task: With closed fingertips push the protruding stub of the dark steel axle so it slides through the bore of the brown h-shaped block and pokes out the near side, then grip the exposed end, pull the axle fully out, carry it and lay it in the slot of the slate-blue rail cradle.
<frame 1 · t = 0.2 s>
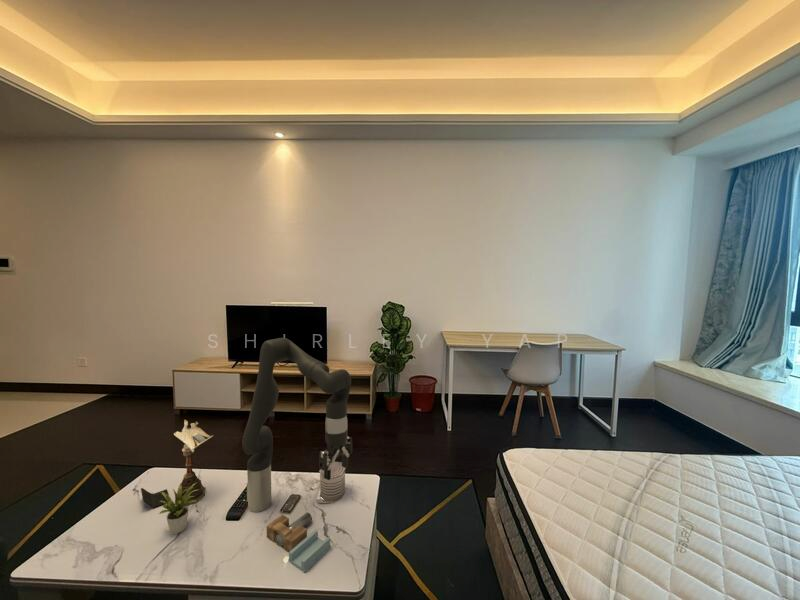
hand: (336, 472, 114), 28 cm above the table, fingers open, 8 cm apart
dark v-shaped block: (156, 502, 142), on the table
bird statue: (196, 497, 144), on the table
cradle: (310, 554, 114), on the table
can: (332, 494, 147), on the table
axle: (294, 528, 124), point 2 cm above the table
house plant: (180, 530, 125), on the table
brown h-shaped block: (286, 539, 121), on the table
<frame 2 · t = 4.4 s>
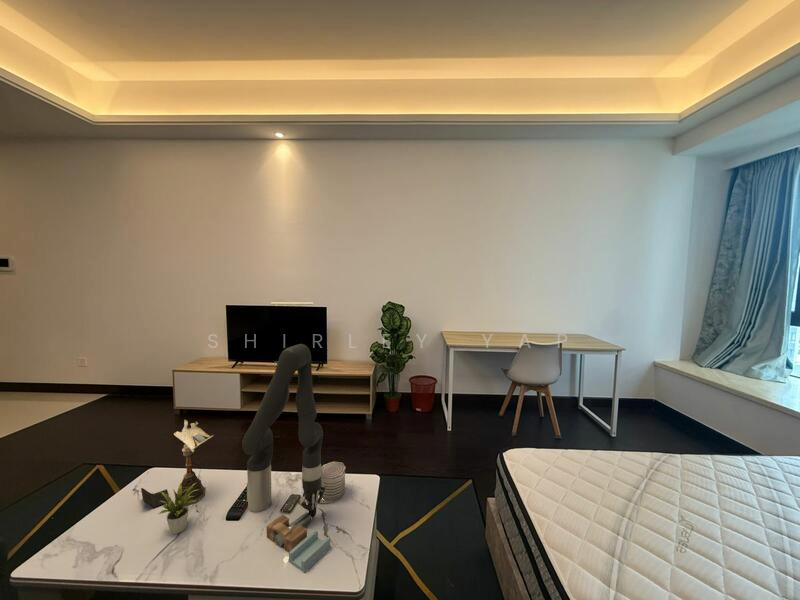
hand: (312, 516, 131), 1 cm above the table, fingers closed
axle: (293, 528, 124), point 2 cm above the table, tilted 5°, touching gripper
everything else where it was.
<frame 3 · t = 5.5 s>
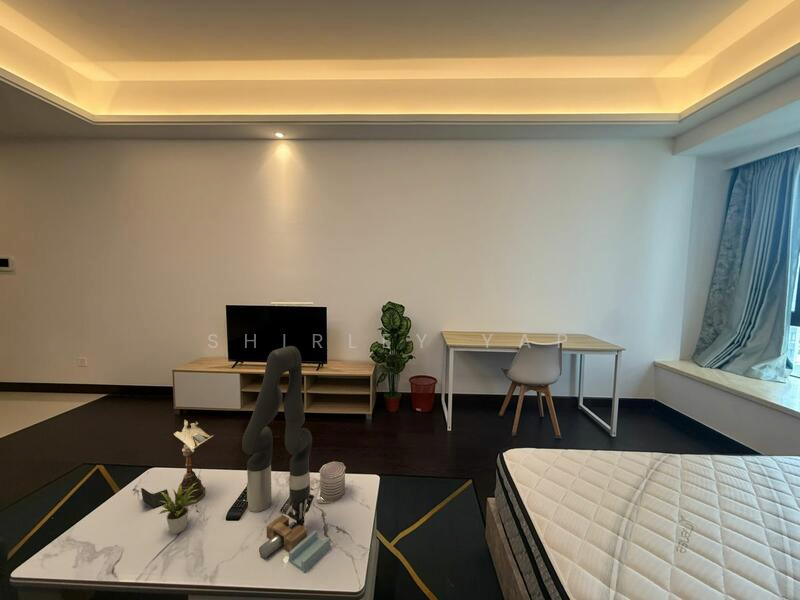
hand: (300, 525, 126), 1 cm above the table, fingers closed
axle: (279, 539, 118), point 2 cm above the table, touching gripper
everything else where it was.
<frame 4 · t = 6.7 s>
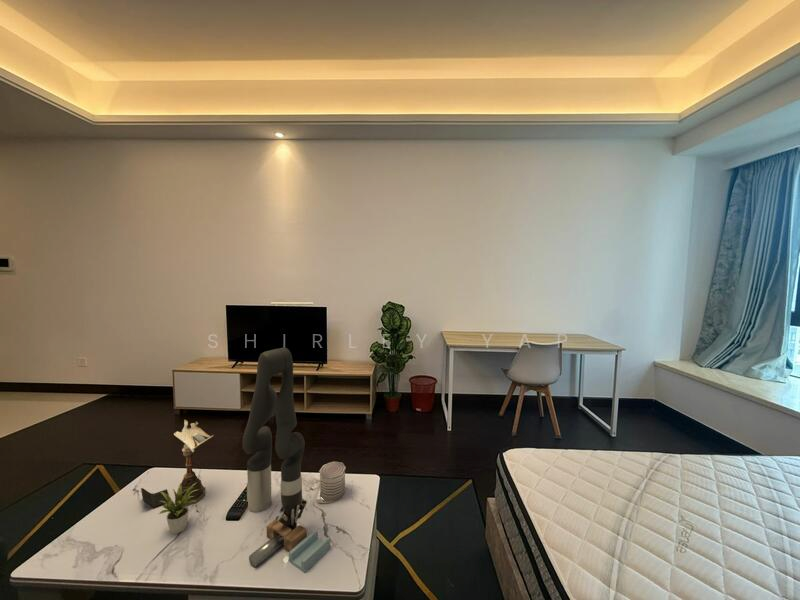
hand: (292, 532, 123), 1 cm above the table, fingers closed
axle: (270, 546, 115), point 2 cm above the table
everything else where it was.
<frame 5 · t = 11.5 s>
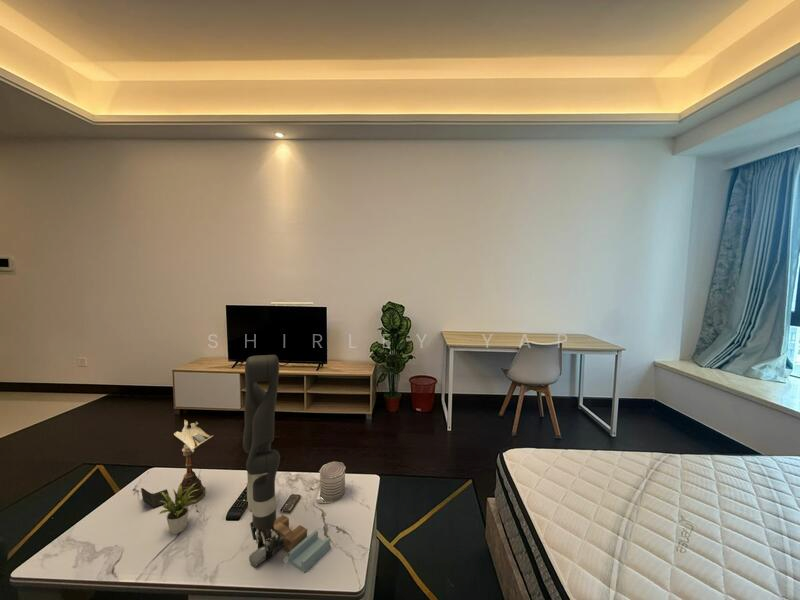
hand: (265, 555, 113), 0 cm above the table, fingers closed on axle, 4 cm apart
axle: (270, 546, 115), point 2 cm above the table, touching gripper
everything else where it was.
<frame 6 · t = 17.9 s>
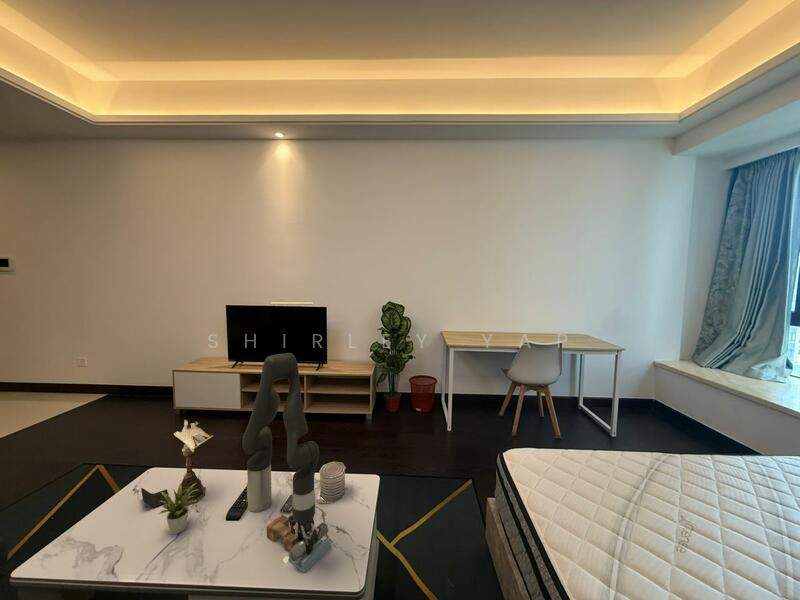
hand: (304, 549, 112), 4 cm above the table, fingers closed on axle, 4 cm apart
axle: (309, 540, 114), point 5 cm above the table, touching gripper
everything else where it was.
when the fingers open (4 cm above the table, at t = 18.2 s): axle drops 2 cm, resting on cradle.
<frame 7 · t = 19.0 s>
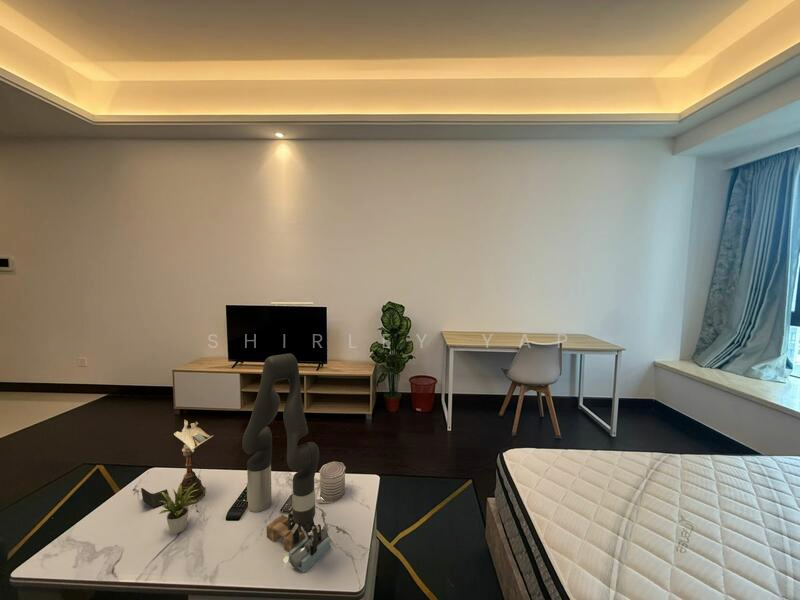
hand: (304, 548, 112), 4 cm above the table, fingers open, 8 cm apart
axle: (309, 547, 114), point 3 cm above the table, touching cradle
everything else where it was.
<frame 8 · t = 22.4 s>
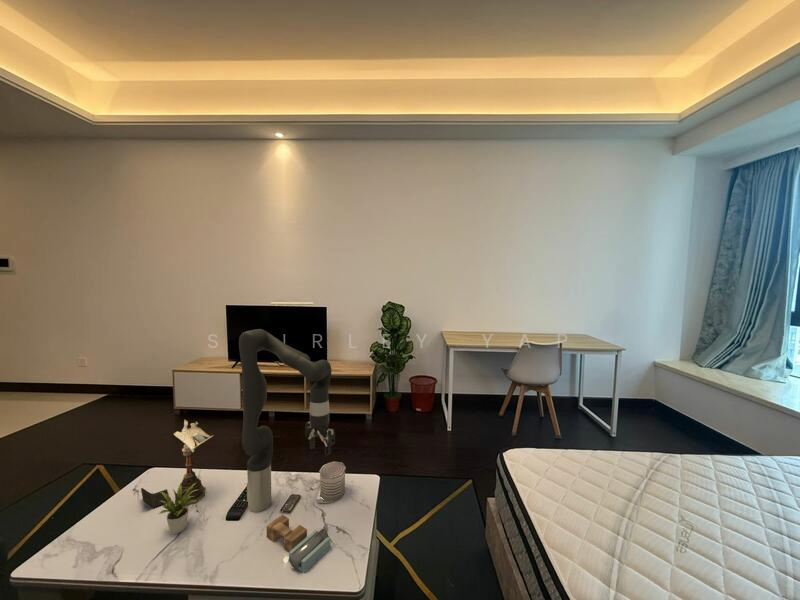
hand: (319, 451, 129), 28 cm above the table, fingers open, 8 cm apart
nothing on the table moved.
at the end: axle inside the target area on the cradle (0.4 cm from its centre), point 3.0 cm above the cradle's base; the gripper is holding nothing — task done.
